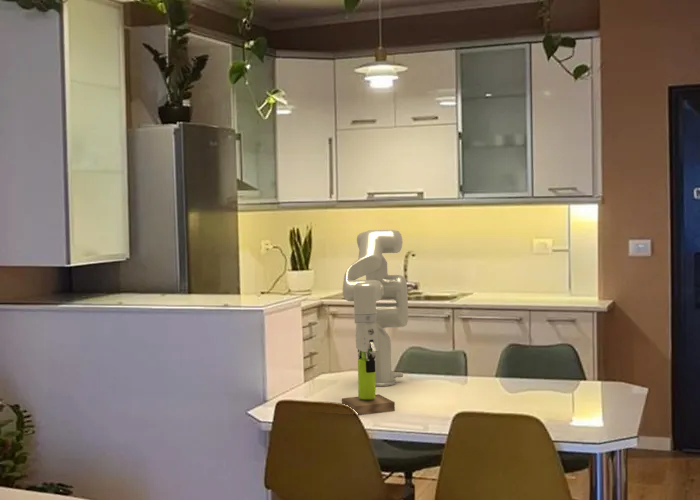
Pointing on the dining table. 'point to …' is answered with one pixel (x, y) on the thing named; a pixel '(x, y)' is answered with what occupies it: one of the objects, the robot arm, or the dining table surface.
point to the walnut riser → (369, 404)
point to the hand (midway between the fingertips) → (366, 370)
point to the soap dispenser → (365, 380)
